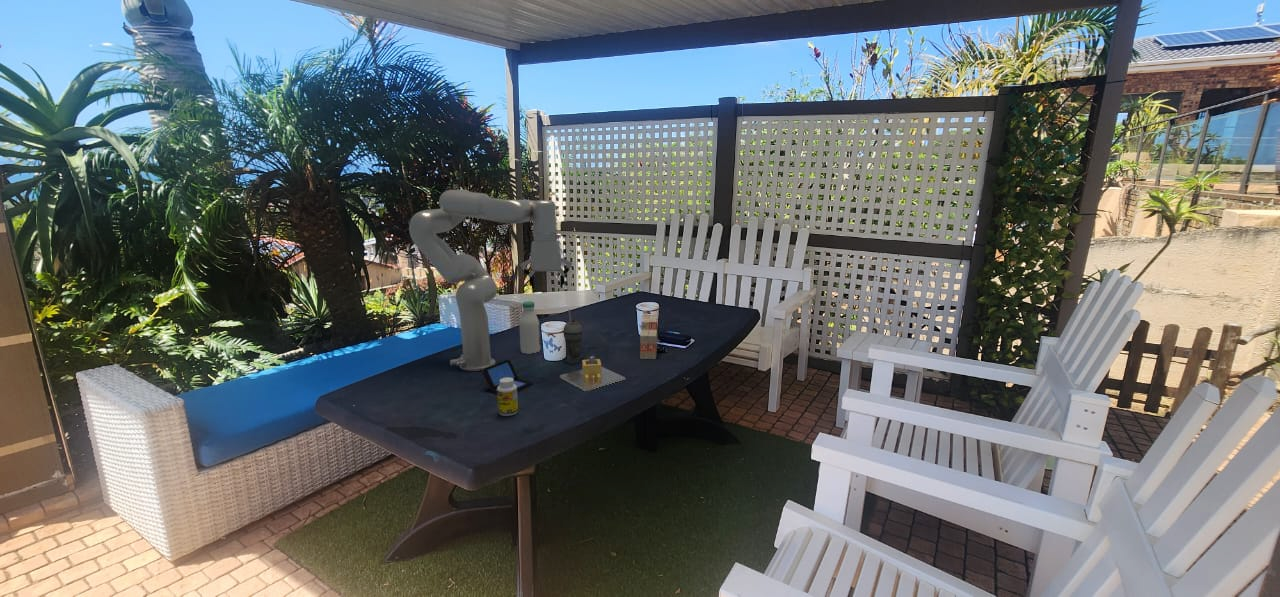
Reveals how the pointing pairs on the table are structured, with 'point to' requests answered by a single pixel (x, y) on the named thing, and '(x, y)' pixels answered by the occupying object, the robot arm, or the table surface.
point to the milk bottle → (529, 329)
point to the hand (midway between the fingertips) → (547, 287)
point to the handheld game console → (503, 376)
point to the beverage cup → (573, 340)
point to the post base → (578, 381)
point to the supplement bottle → (507, 397)
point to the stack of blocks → (648, 337)
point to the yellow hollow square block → (591, 370)
